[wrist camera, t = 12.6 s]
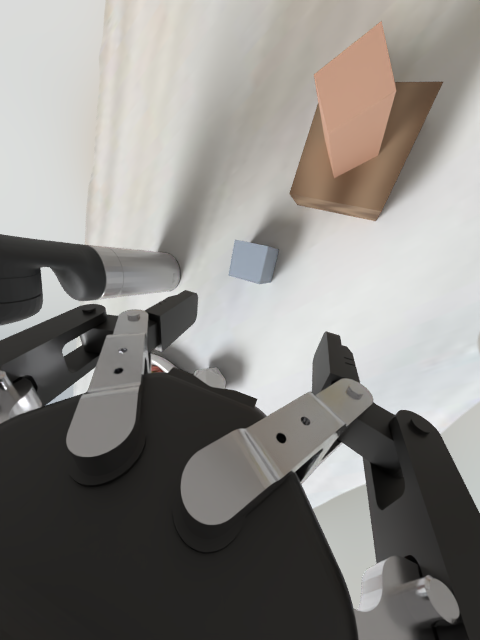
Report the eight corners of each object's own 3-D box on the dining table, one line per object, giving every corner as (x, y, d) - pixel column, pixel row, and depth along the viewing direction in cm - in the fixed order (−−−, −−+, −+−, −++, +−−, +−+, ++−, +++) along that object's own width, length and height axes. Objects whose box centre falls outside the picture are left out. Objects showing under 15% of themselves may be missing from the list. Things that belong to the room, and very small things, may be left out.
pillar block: (334, 178, 26) (328, 133, 18) (324, 139, 26) (313, 74, 17) (378, 155, 24) (396, 90, 15) (368, 112, 23) (381, 21, 15)
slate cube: (243, 274, 41) (228, 275, 36) (249, 243, 39) (235, 239, 34) (271, 282, 39) (259, 284, 34) (279, 249, 37) (268, 246, 32)
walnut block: (298, 205, 34) (289, 193, 29) (328, 115, 30) (324, 83, 25) (375, 221, 30) (381, 211, 25) (423, 120, 26) (443, 81, 20)
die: (235, 367, 47) (197, 363, 42) (234, 407, 45) (193, 408, 39) (218, 369, 54) (183, 365, 48) (215, 404, 51) (178, 404, 46)
